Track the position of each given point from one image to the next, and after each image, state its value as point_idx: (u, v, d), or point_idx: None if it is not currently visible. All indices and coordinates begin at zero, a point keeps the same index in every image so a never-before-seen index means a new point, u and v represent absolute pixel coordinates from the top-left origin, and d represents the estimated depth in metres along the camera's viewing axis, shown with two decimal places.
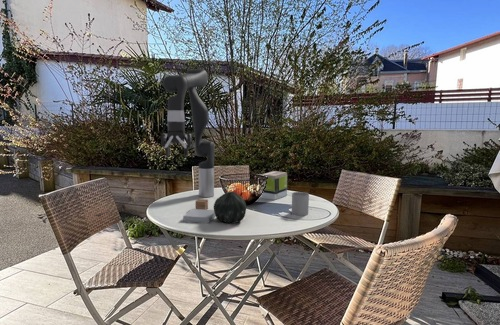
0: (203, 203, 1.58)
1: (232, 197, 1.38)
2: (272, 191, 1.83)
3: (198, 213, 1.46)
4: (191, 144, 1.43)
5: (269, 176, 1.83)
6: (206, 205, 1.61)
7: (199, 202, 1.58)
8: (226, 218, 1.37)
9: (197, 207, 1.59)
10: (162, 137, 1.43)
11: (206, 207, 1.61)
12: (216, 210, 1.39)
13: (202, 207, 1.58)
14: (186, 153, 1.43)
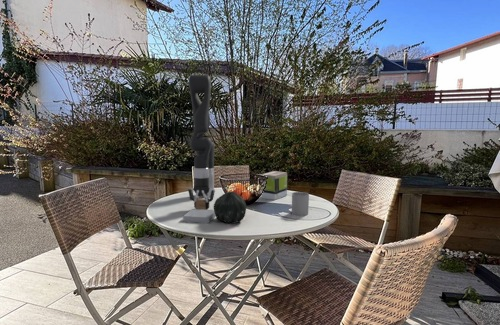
0: (203, 203, 1.58)
1: (232, 197, 1.38)
2: (272, 191, 1.83)
3: (198, 213, 1.46)
4: (212, 198, 1.60)
5: (269, 176, 1.83)
6: None
7: (199, 202, 1.58)
8: (226, 218, 1.37)
9: (197, 207, 1.59)
10: (190, 192, 1.60)
11: None
12: (216, 210, 1.39)
13: (202, 207, 1.58)
14: (207, 206, 1.60)
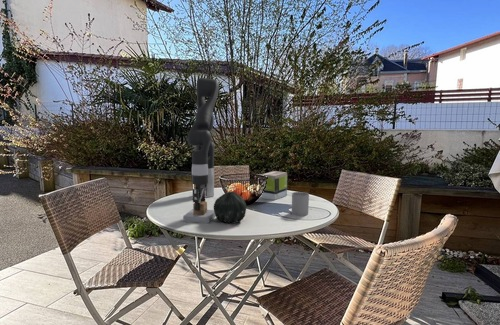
0: None
1: (232, 197, 1.38)
2: (272, 191, 1.83)
3: None
4: (197, 200, 1.39)
5: (269, 176, 1.83)
6: None
7: None
8: (226, 218, 1.37)
9: None
10: None
11: (198, 211, 1.44)
12: (216, 210, 1.39)
13: None
14: (195, 207, 1.42)
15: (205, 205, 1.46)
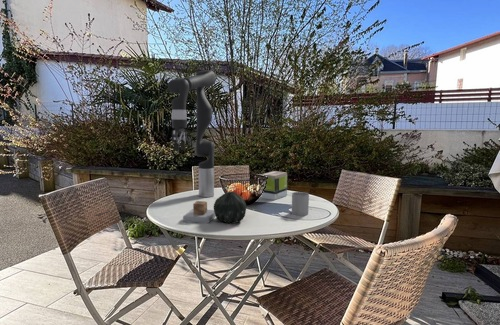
0: None
1: (232, 197, 1.38)
2: (272, 191, 1.83)
3: None
4: (175, 140, 1.56)
5: (269, 176, 1.83)
6: (198, 209, 1.44)
7: None
8: (226, 218, 1.37)
9: None
10: None
11: (198, 211, 1.44)
12: (216, 210, 1.39)
13: None
14: (174, 148, 1.59)
15: (205, 205, 1.46)
